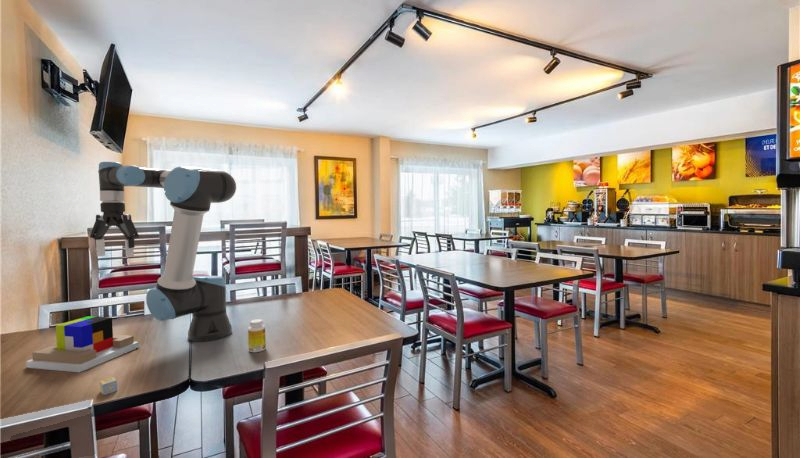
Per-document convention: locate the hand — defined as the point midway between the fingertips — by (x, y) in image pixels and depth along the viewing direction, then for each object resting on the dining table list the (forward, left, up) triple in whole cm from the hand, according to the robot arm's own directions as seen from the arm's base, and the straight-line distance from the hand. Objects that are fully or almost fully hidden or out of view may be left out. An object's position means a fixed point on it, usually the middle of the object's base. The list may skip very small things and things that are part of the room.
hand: (115, 256), depth 142 cm
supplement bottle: (-65, +7, -31) cm, 72 cm away
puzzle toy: (-12, +22, -29) cm, 38 cm away
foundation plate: (-12, +22, -31) cm, 40 cm away
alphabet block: (-42, +40, -31) cm, 66 cm away
